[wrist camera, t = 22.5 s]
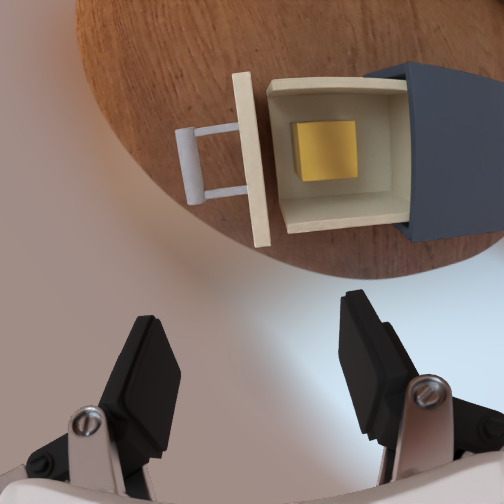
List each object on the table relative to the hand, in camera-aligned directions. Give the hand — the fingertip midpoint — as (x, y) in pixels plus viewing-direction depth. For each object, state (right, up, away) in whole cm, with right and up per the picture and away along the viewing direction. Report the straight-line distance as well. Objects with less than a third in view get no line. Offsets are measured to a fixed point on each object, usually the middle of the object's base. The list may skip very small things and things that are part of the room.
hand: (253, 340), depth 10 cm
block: (+6, +12, +15) cm, 20 cm away
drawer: (+4, +13, +16) cm, 21 cm away
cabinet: (+19, +15, +16) cm, 29 cm away
